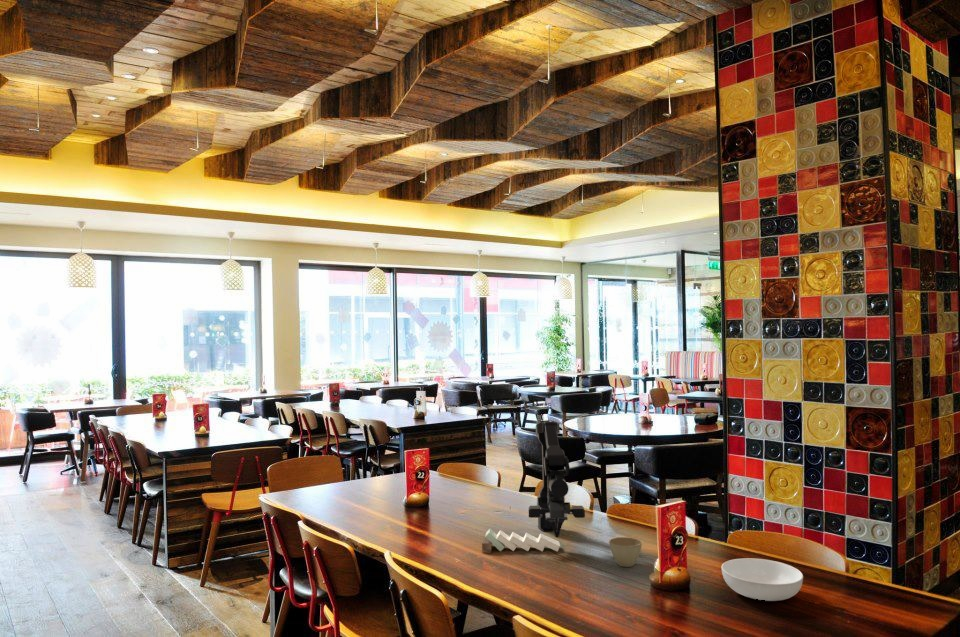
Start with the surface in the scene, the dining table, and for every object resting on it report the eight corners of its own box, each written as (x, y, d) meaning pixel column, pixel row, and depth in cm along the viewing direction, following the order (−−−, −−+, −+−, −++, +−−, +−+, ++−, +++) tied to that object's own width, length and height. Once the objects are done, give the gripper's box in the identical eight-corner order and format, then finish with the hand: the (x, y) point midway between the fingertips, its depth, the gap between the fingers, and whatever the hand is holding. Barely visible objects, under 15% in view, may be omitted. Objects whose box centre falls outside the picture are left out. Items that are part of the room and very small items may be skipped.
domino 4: (559, 541, 240) (540, 533, 241) (559, 546, 235) (540, 537, 236) (556, 547, 240) (537, 538, 241) (557, 551, 235) (538, 542, 236)
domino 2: (530, 541, 241) (512, 531, 241) (530, 546, 236) (512, 535, 236) (527, 546, 241) (509, 536, 241) (527, 551, 236) (509, 541, 236)
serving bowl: (762, 615, 180) (761, 588, 180) (705, 588, 199) (705, 564, 200) (821, 601, 189) (820, 575, 189) (761, 577, 208) (761, 554, 208)
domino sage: (505, 542, 241) (490, 528, 241) (504, 547, 236) (489, 532, 236) (500, 547, 241) (486, 532, 242) (500, 551, 236) (485, 536, 237)
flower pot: (643, 560, 224) (643, 538, 225) (640, 571, 215) (639, 547, 215) (612, 558, 228) (611, 535, 228) (607, 567, 218) (607, 544, 218)
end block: (492, 545, 243) (492, 536, 243) (491, 552, 235) (491, 543, 235) (483, 545, 243) (483, 536, 243) (482, 552, 235) (482, 543, 235)
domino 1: (517, 542, 241) (500, 529, 242) (516, 546, 236) (499, 534, 237) (513, 546, 241) (497, 534, 242) (513, 551, 236) (496, 538, 237)
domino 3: (544, 541, 240) (526, 532, 241) (545, 546, 236) (526, 536, 236) (542, 547, 241) (523, 537, 241) (542, 551, 236) (523, 542, 236)
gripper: (528, 496, 231) (529, 544, 230) (585, 496, 229) (586, 544, 229) (528, 488, 242) (529, 534, 241) (583, 488, 241) (584, 534, 240)
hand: (556, 537), depth 238 cm, fingers closed
